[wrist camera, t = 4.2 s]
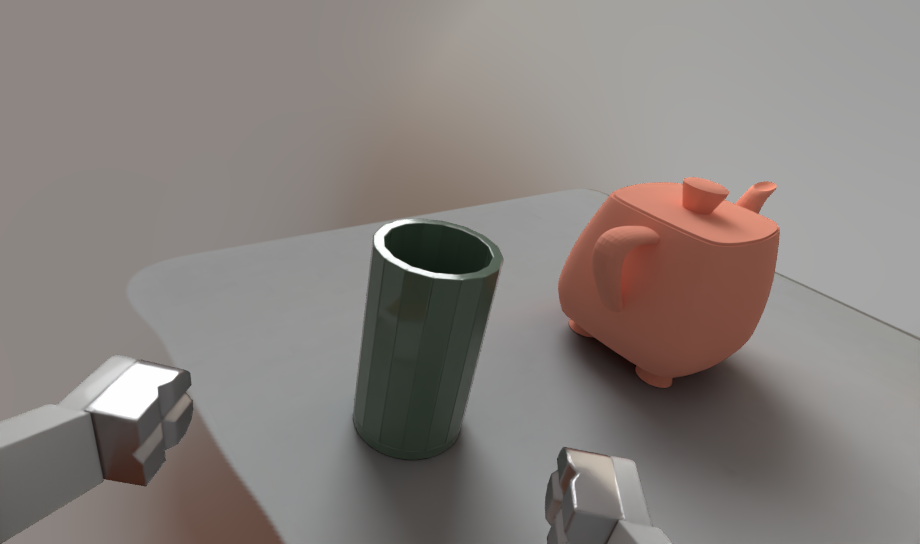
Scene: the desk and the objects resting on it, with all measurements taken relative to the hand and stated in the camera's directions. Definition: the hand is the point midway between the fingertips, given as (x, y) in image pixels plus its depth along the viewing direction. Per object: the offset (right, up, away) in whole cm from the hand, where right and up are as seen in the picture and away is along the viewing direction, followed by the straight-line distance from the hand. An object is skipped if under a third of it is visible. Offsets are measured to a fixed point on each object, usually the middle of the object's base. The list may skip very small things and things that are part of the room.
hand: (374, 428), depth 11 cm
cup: (-1, -4, +16) cm, 16 cm away
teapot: (+16, -2, +27) cm, 32 cm away
